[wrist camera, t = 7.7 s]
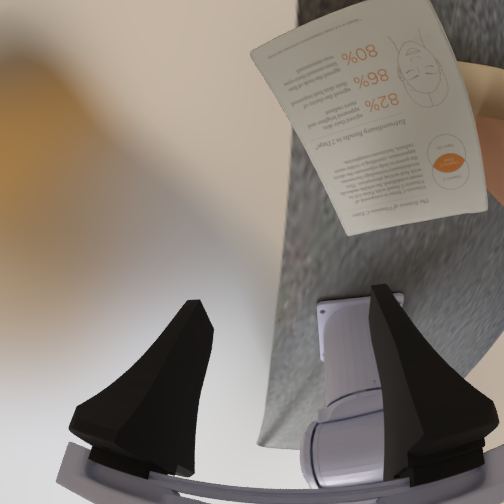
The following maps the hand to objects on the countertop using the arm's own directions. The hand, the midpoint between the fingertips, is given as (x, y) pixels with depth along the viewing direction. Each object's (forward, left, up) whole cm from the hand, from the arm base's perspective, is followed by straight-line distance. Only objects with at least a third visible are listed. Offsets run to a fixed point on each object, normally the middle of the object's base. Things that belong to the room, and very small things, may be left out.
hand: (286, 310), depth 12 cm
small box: (+12, -4, -6) cm, 14 cm away
